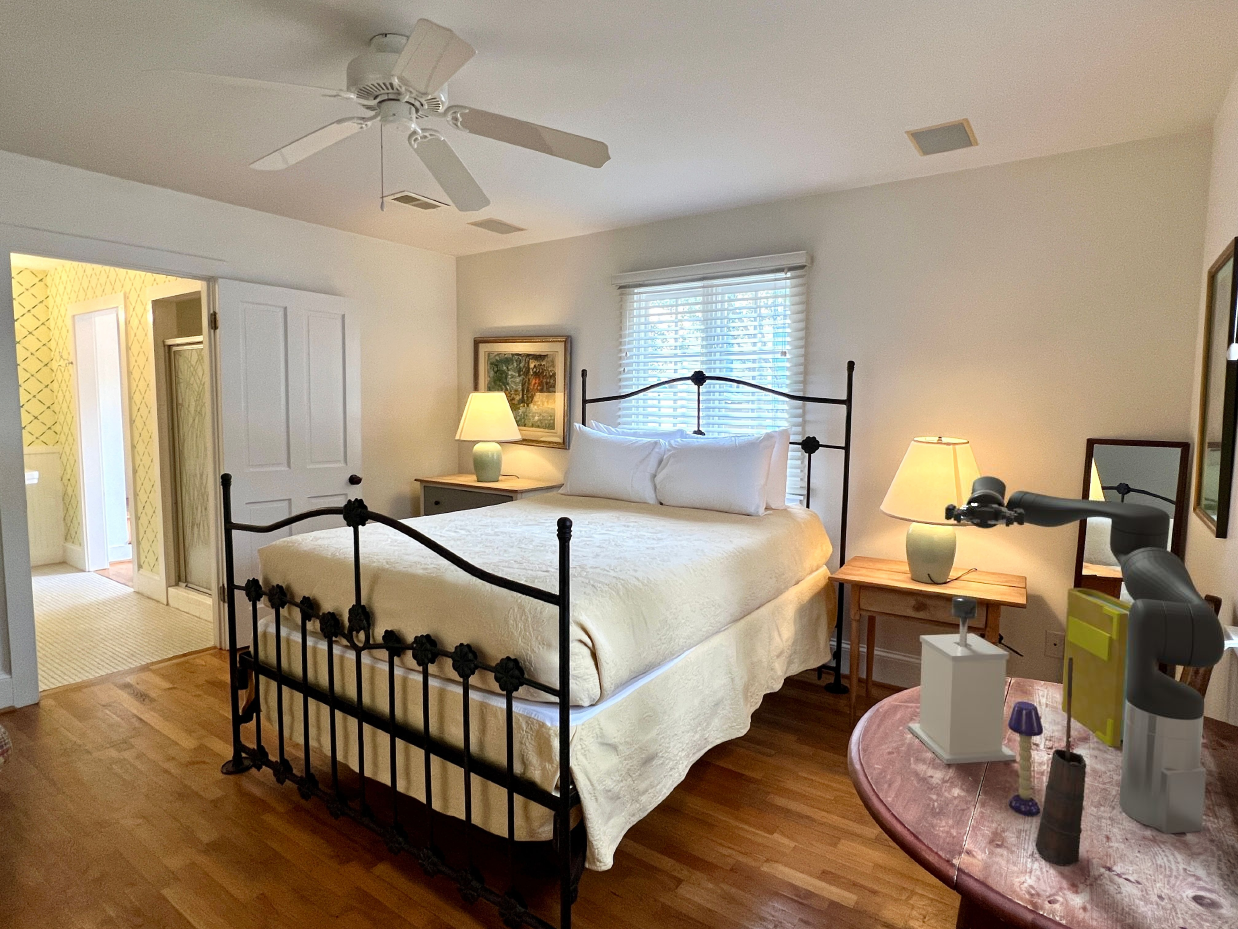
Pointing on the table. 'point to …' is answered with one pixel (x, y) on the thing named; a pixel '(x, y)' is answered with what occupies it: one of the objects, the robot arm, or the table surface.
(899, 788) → the table surface
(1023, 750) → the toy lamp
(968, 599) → the plunger
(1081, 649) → the book
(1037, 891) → the table surface
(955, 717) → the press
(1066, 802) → the butter churn
